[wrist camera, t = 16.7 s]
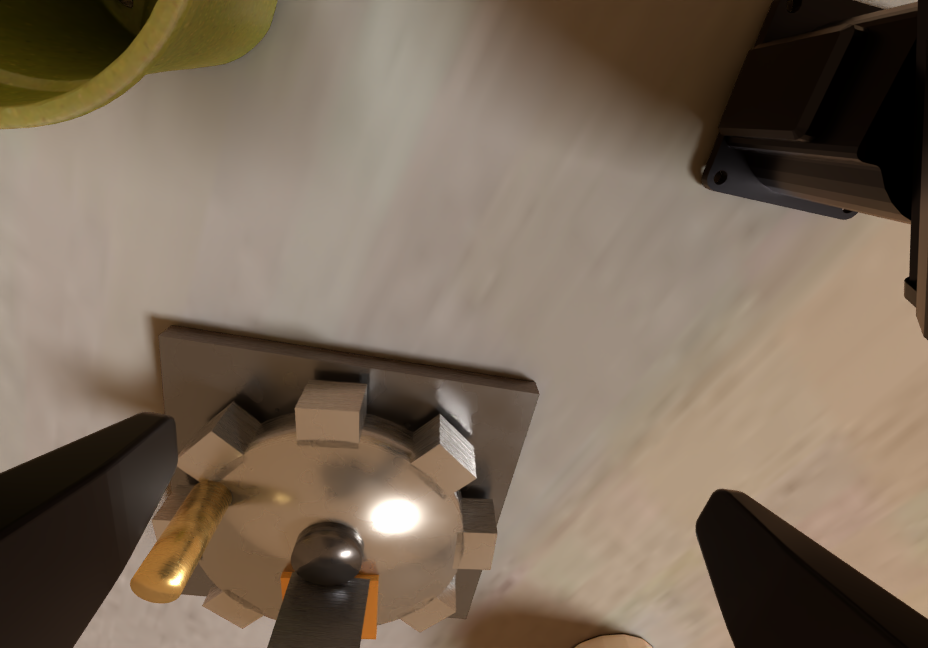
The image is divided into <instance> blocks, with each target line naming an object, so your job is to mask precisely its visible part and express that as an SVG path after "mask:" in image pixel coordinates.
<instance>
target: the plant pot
mask: <svg viewBox="0 0 928 648" xmlns="http://www.w3.org/2000/svg"><path fill="white" fill-rule="evenodd" d="M132 1H133V7H132V8H129V7H126V6H125V5H124V4H123V3H121V2H120V1H119V0H0V129H15V128H29V127H38V126H44V125H50V124H56V123H60V122H64V121H67V120H71V119H74V118H77V117H80V116H83V115H86V114H88V113H90V112H92V111H94V110H96V109H98V108H101V107H103V106H105V105H107V104H108V103H110V102H111V101H113V100H114V99H116V98H118V97H119V96H121V95H122V94H124V93H125V92H126V91H127V90H129V89H130V88H131V87H132V86H134V85H135V84H136V83H137V82H139V81H140V80H141V79H142V78H143V77H144V76H145V75H146V74H152V73H158V72H165V71H172V70H183V69H193V68H200V67H208V66H216V65H221V64H226V63H228V62H231V61H234V60H236V59H238V58H240V57H242V56H243V55H245V54H246V53H248V52H249V51H250V50H251V49H253V48H254V47H255V46H256V45H257V44H258V43H259V42H260V41H261V39H262V38H263V37H264V36H265V34H266V33H267V31H268V30H269V28H270V25H271V22H272V18H273V15H274V11H275V8H276V4H277V0H132Z"/></svg>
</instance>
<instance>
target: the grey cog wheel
mask: <svg viewBox="0 0 928 648" xmlns="http://www.w3.org/2000/svg"><path fill="white" fill-rule="evenodd" d="M177 467H178V468H180V469H181V470H183V471H184V472H186V473H187V474H189V475H190V476H192V477H193V478H195V479H196V480H197V481H199V483H197V484H196V485H195V486H194V485H177V486H176V487H175V488H174V490H173V491H172V493H171V494H170V495H169V497H168V498H167V499H166V501H165V502H164V504H163V505H162V506H161V508H160V509H159V511H158V512H157V513H156V515H155V516H154V518H153V519H152V523H153V527H154V531H155V535H156V539H157V542H156V543H155V545H154V546H153V548H152V549H151V551H150V552H149V554H148V555H147V557H146V558H145V560H144V561H143V563H142V564H141V566H140V567H139V569H138V570H137V572H136V573H135V575H134V576H133V578H132V579H131V582H130V586H131V589H132V591H133V592H134V593H135V594H136V595H137V596H138V597H140V598H142V599H144V600H146V601H149V602H153V603H169V602H172V601H174V600H176V599H177V598H179V596H180V595H181V593H182V591H183V589H184V587H185V586H186V584H187V582H188V580H189V578H190V576H191V575H192V573H193V571H194V569H195V567H196V565H197V564H198V562H199V564H200V566H201V567H202V569H203V570H204V572H205V573H206V574H207V576H208V577H209V578H210V579H211V580H212V581H213V582H214V583H213V585H212V587H211V589H210V591H209V593H208V595H207V597H206V599H205V601H204V603H203V605H202V606H203V607H205V608H207V609H209V610H210V611H212V612H214V613H216V614H217V615H219V616H221V617H223V618H224V619H226V620H228V621H230V622H231V623H233V624H235V625H237V626H239V627H240V628H242V629H243V628H245V627H246V626H248V625H249V624H251V623H252V622H254V621H255V620H257V619H259V618H260V617H262V616H263V615H264V616H266V617H268V618H271V619H274V620H277V617H278V614H279V611H280V608H281V605H282V602H283V599H284V596H285V593H286V590H287V586H288V583H289V580H290V577H291V574H292V572H296V573H297V574H298V575H299V576H300V577H301V578H303V579H305V580H307V581H309V582H311V583H314V584H319V585H338V584H342V583H345V582H348V581H349V580H351V579H353V578H361V579H370V584H369V591H368V597H367V604H366V610H365V616H364V623H363V629H362V636H361V639H376V634H377V625H381V624H384V623H388V622H391V621H394V620H397V619H401V620H402V621H404V622H405V623H407V624H408V625H410V626H411V627H413V628H414V629H415V630H417V631H418V632H421V631H423V630H425V629H427V628H429V627H430V626H432V625H434V624H436V623H438V622H439V621H441V620H443V619H445V618H446V617H448V616H450V615H452V614H454V613H455V612H456V593H455V574H456V572H457V570H458V569H480V570H490V569H491V564H492V559H493V554H494V549H495V544H496V538H497V527H496V519H495V512H494V504H493V499H474V498H462V496H461V490H460V489H461V488H463V487H464V486H466V485H467V484H469V483H470V482H472V481H473V480H475V479H477V477H476V466H475V455H474V446H473V445H472V444H471V443H470V442H468V441H467V440H466V439H465V438H464V437H463V436H462V435H461V434H460V433H459V432H458V431H457V430H456V429H455V428H454V427H453V426H452V425H451V424H450V423H449V422H448V421H447V420H446V419H445V418H444V417H443V416H442V415H441V414H439V415H438V416H436V417H435V418H433V419H432V420H430V421H429V422H428V423H426V424H425V425H423V426H422V427H420V428H419V429H418V430H416V431H415V432H412V431H411V430H409V429H408V428H406V427H403V426H401V425H399V424H397V423H395V422H393V421H390V420H387V419H384V418H381V417H378V416H375V415H371V414H367V384H366V383H351V382H336V381H321V380H309V381H308V383H307V385H306V387H305V389H304V391H303V393H302V395H301V397H300V399H299V401H298V403H297V405H296V407H295V412H294V413H290V414H285V415H282V416H279V417H276V418H273V419H270V420H268V421H266V422H264V423H261V422H259V421H258V420H257V419H255V418H254V417H253V416H252V415H250V414H249V413H248V412H247V411H245V410H244V409H243V408H241V407H240V406H239V405H238V404H236V403H235V402H234V401H233V402H232V403H231V404H229V405H228V406H227V407H226V408H224V409H223V410H222V411H221V412H220V413H218V414H217V415H216V416H215V417H214V418H212V419H211V420H210V421H209V422H208V423H206V424H205V425H204V426H203V427H201V428H200V429H199V430H198V431H197V432H196V433H195V434H194V436H193V437H192V438H191V440H190V441H189V442H188V443H187V445H186V446H185V447H184V449H183V450H182V451H181V452H180V454H179V455H178V463H177Z"/></svg>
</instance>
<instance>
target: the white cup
mask: <svg viewBox="0 0 928 648" xmlns="http://www.w3.org/2000/svg"><path fill="white" fill-rule="evenodd" d="M575 648H653V647H652V646H651V645H649V644H648V643H647V642H646V641H645V640H643V639H641V638H637V637H633V636H629V635H625V634H619V635H605V636H599V637H596V638H593V639H590V640H588V641H585V642H582V643H580V644H579V645H577V646H576V647H575Z"/></svg>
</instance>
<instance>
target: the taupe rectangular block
mask: <svg viewBox="0 0 928 648" xmlns="http://www.w3.org/2000/svg"><path fill="white" fill-rule="evenodd" d="M369 584H370V579H361V578H353V579H351V580H349V581H348V582H345V583H342V584H338V585H319V584H314V583H311V582H309V581H307V580H305V579H303V578H301V577H300V576H299V575H298V574H297V573H296V572H292V574H291V577H290V580H289V583H288V586H287V590H286V593H285V596H284V599H283V602H282V605H281V608H280V611H279V614H278V617H277V620H276V623H275V626H274V629H273V632H272V635H271V638H270V641H269V644H268V647H267V648H360V642H361V636H362V629H363V623H364V616H365V610H366V604H367V597H368V591H369Z"/></svg>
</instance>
